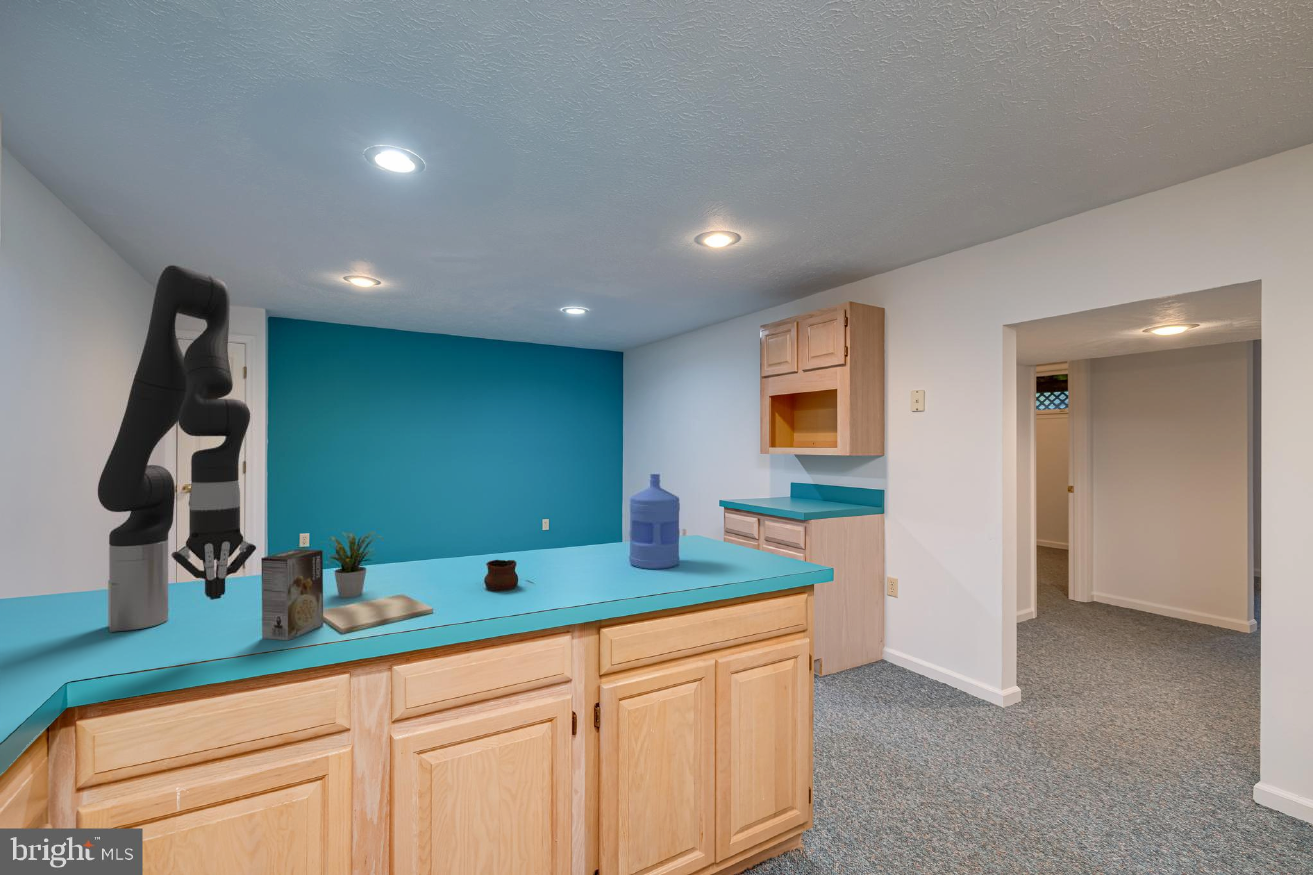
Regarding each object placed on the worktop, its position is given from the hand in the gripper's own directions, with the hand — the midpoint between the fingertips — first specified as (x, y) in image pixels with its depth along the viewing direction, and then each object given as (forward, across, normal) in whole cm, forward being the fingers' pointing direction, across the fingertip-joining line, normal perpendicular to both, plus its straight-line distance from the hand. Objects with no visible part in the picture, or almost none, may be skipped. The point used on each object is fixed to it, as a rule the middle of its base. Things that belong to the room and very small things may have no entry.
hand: (215, 598), depth 107 cm
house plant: (+10, +32, +20) cm, 39 cm away
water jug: (+10, +109, -10) cm, 110 cm away
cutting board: (+10, +29, 0) cm, 30 cm away
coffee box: (+10, +13, 0) cm, 16 cm away
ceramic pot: (+10, +60, 0) cm, 61 cm away
